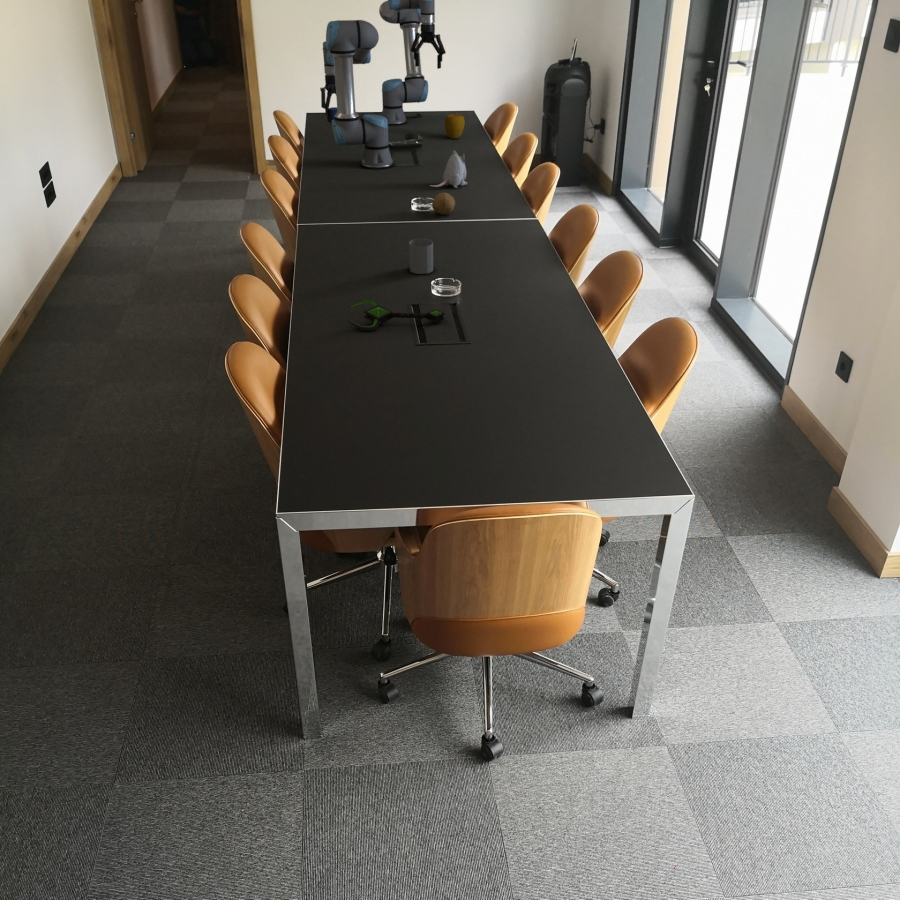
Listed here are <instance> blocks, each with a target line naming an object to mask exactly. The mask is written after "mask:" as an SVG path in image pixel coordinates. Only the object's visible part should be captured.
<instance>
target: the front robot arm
mask: <svg viewBox="0 0 900 900" xmlns="http://www.w3.org/2000/svg"><path fill="white" fill-rule="evenodd" d="M379 38H380V35H379V32H378V29H377V28H376V27H375V26H374V25H373V24H372V23H371V22H368V21H367V20H364V19H349V20H348V19H346V20H345V19H341V20H340V19H337V20H330V21H329V22H328V23H327V25H326V30H325V41H323V42H322V53H323V54H322V56H323V69H324V74H325V75H324V82H325V84H324V86H322V87H320V88H319V90H320V97H321V98H320V99H321V100H320V104H321V108H322V109H324V111H325V113H324V114H325V116H326V118H327V119H326V120H327V123H328V124H330V123H331V115H330V109H329V108H330V103H331V99H332V96H333V95H334V94H335V96H336V107H337V113H336V114H335V120H332V124H331V128H332V129H331V130H332V134H333V138H334V141H335V143H336V144H337V145H338V146H355V145H357V146H358V145H364V151H363V155H362V159H361V166H362V167H363V168H366V169H371V170H381V169H387V168H390V167H392V166H394V161H393V158H392V151H391V150H390V147H389V145H390V144H389V125H388V122H387V119H386V118H385V117H383V116H380V115H381V114H374V113H373V114H372V113H368V114H367V113H365V114H363V116H362V118H360V115H359V113H358V112H357V111H356V95H355V80H354V79H355V77H354V65H366V64H370V63H371V62H372V61H371V59H372V53H371V51H372V49H374V48H375V47H377V45H378V43H379Z"/></svg>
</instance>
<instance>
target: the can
mask: <svg viewBox="0 0 900 900" xmlns="http://www.w3.org/2000/svg"><path fill="white" fill-rule="evenodd" d="M329 109H330V115H331V123H329V125H332V120H335V114H336V113H337V106H335V107H334V106H333V107H329Z"/></svg>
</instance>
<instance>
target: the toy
mask: <svg viewBox="0 0 900 900" xmlns="http://www.w3.org/2000/svg"><path fill="white" fill-rule="evenodd" d="M466 178H467V168H466V156H465V153H463V154H462V155H459V154H458V153H457V151H456V150H455V149H453V150H452V153H451V155H450V156H449V158H448V161H447V163H446V166H445V170H444V171H443V177H442V179H443V181H442V182H441V183H439V184H436V185H435V184H433V185H432V184H430V185H428V186H429V187H434V188H440V187H443V186H446V187H448V186H449V185H451V186H453V188H455V189H459V187H458V186H461V187H462V186H467V185H468V182H467V181H465V180H466Z"/></svg>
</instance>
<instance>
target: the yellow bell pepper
mask: <svg viewBox="0 0 900 900" xmlns="http://www.w3.org/2000/svg"><path fill="white" fill-rule="evenodd" d="M465 123H466V122H465V117H464V116H463V115H462V114H461V113H449V114H447V115H446V116H445V118H444V129H445V133H446V136H447V137H448V138H449V139H450V140H455V139H458V138H460V137H461V136H462V134H463V132H464V129H465Z"/></svg>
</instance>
